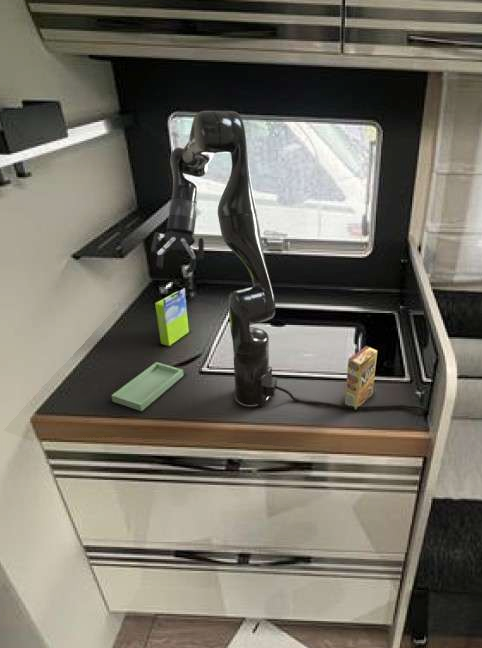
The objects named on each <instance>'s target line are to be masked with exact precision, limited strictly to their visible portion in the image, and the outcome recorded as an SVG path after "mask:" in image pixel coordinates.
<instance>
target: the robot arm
mask: <svg viewBox="0 0 482 648" xmlns="http://www.w3.org/2000/svg"><path fill="white" fill-rule="evenodd" d="M189 132H190V133H189V138H188V141H187V143H186V145H185V146H184V147H183V148H182V147H176V148H174V149H173V150H172V151H171V153H170V157H169V158H170V159H169V161H170V167H171V173H172V179H173V180H172V181H173V182H172V184H173V186H172V194H171V202H170V204H169V211H168V218H167V225H166V226H167V227H166V231H165V233H160V232H158V231H155V232H154V233H153V238H152V243H151V247H150V252H151V253H154V254H156V264H155V265H156V267H157V268H158V269H161V270H162V269H163V266H164V259H165V256H164V255H165V254H166V253H167V252H169V251H170V250H173V251H181V252H185V251H186V252H187V254H189V256H190V258H191V259H190V260H189V268H188V273H193V271H194V272H195V271H196V265H197V261H198V260H202V259H204V254H205V253H204V252H205V240H204V239H203V238H202V237H200V238H198V237H197V238H195V229H196V219H197V216H198V215H197V210H198V209H197V208H198V207H197V206H198V196H199V186H198V185H197V184H196V183H194V182H193V181H191V180H189V179H187V178H186V176H185V175H188V176H192V177H198V178H201V177H204V176H205V175H206V174H207V171H208V167H209V165H208V164H209V163H210V161H211V160H212V159H213V156H214V154H226V153H227V154H228V153H229V154H230V160H231V161H230V162H231V163H230V164H231V165H230V173H229V177H228V180H227V183H226V185H225V188H224V190H223V193H222V194H221V197H220V200H219V202H218V205H217V217H218V223H219V228H220V233H221V237H222V239H223V241H224V243H225V244H226V246H227V247H228V248H229V249H230V250H231V251H232V253H233V254H234V255H235V256H236V257H237V258H238V259H239V260H240V261H241V262H242V263H243V265H244V266H245V268H246V270H247V272H248V274H249V276H250V280H251V284H252V286H251V287H246V288H242V289H238V290H234V291H233V292H231V293H230V294H229V296H228V300H227V308H228V309H227V310H228V317H229V325H230V335H231V338H232V339H231V340H232V351H233V353H232V354H233V355H232V356H233V373H234V374H233V375H234V398H235V399H234V400H235V402H236V403H237V404H238V405H239V406H241V407H243V408H250V409H251V408H263V406H265V404H266V403H267V402H268V401H269V399H270V398H271V397H274V396H275V394H276V390H278V391H281V392H284V393H286V394H287V395H288V396H289V397H290V398H291V399H292V400H293V401H294V402H298V403H301V404H308V405H320V406H321V405H322V406H328V407H333V408H334V407H335V408H341V409H352V410H353V409H354V410H355V408H354V407H353V406H348V405H346V404H338V403H333V402H332V403H331V402H325V401H315V400H303V399H301V398H300V399H299V398H297V397H295V396H294V395H293V394H292V393H291V391H289V390H288V389H286V388H284V387H281V386H278V377H275V376H273V367H272V366H270V338H269V334H268V333H267V331H266V330H264V329H263V328H259V327H254V326H253V325H256V324H259V323H263V322H266V321H269V320H271V319H273V318H274V317H275V314H276V308H277V307H276V298H275V294H274V291H273V287H272V283H271V279H270V276H269V272H268V267H267V264H266V259H265V253H264V247H263V242H262V237H261V229H260V223H259V218H258V213H257V208H256V203H255V201H256V200H255V197H254V192H253V187H252V181H251V173H250V165H249V154H248V144H247V136H246V129H245V125H244V121H243V117H242V116H241V114H240V113H238V112H237V111H234V110H201V111H199V112H197V113H196V114H195V116H194V118H193V121H192V124H191V128H190V131H189ZM184 174H185V175H184ZM163 239H164V240H165V242H166V243H165V244H164V245H163V246H162V247H161V248H160V249H159V245H160V242H161V241H163ZM194 243H196V246H197V247H198V249H197V250H198V253H197V254H196V253H195V252H194V250H193V248H192V246H193V244H194ZM387 408H388V409H389V408H409V409H418V410H421V411H424V412H425V413H427V412H426V410H424V408H425V407H424V406H422V405H414V404H413V405H412V404H401V403H400V404H398V403H397V404H382V405H381V404H379V405H361V406H358V407H357V409H356V410H365V409H387Z"/></svg>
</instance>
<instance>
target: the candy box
mask: <svg viewBox="0 0 482 648" xmlns="http://www.w3.org/2000/svg"><path fill="white" fill-rule="evenodd" d="M377 358H378V350H377V349H375V348H372V347H370V346H368V345H365V346H364V347H363V348H361V349H360V350H358V351H357V352H356V353H355V354H353V355H352V356H351V357H349V358H348V360H347V361H348V362H347V372H346V373H347V374H346V384H345V385H346V387H345V397H344V405H347V406H353V407H354V408H355V409H354V410H358V409H357V407H358V406H363V404H364V403H365V402H366V401H367V400H368V399H369V398H370V397H372V395H373V392H374V385H375V384H374V383H375V376H376V375H375V374H376V366H377Z"/></svg>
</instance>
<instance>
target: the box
mask: <svg viewBox="0 0 482 648" xmlns="http://www.w3.org/2000/svg"><path fill="white" fill-rule="evenodd" d="M154 307H155V313H156V319H157V325H158V332H159V339H160V344H161V345H164V346H168V347H171V346H172V345H173V344H174V343H176V342H177V341H179V340H180V339H181V338H183V337H185V336H186V335H187V334H188V333H190V329H189V322H188V321H189V320H188V310H187V309H188V308H187V299H186V288H185V287H184V288H182V289H181V290H178V291H175V292H173V293H171V294H170V295H168V296H166V297H164V298H162V299H161V300H158V301H157V302H155V303H154Z"/></svg>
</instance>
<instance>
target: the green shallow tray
mask: <svg viewBox="0 0 482 648" xmlns="http://www.w3.org/2000/svg"><path fill="white" fill-rule="evenodd" d="M184 373H185V372H184V369H181V368H179V367H175V366H171V365H168V364H164V363H162V362H158V361H156V362H155V363H153V364H152V365H150V366H149V367H147V368H146V369H144V371H142V372H140V374H138V375H136V377H134V378H132V379H131V380H130V381H129V382H127V383H125V384H124V385H123V386H122V387H121V388H119V389H117V391H115V392H113V393H112V394H111V401H112V402H113V403H116V404H119V405H121V406H125V407H128V408H131V409H133V410H135V411H136V410H137V411H139V412H143V411H144V410H145V409H146V408H148V407H149V406H150V405H151V404H152V403H153V402H155V401H156V400H157V399H158V398H159V397H160V396H161V395H163V394H164V393H165V392H166V391H167V390H169V388H171V387H172V386H173V385H174V384H176V383H177V382H178V381H179V380H180V379H182V378H183V377H184Z"/></svg>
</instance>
